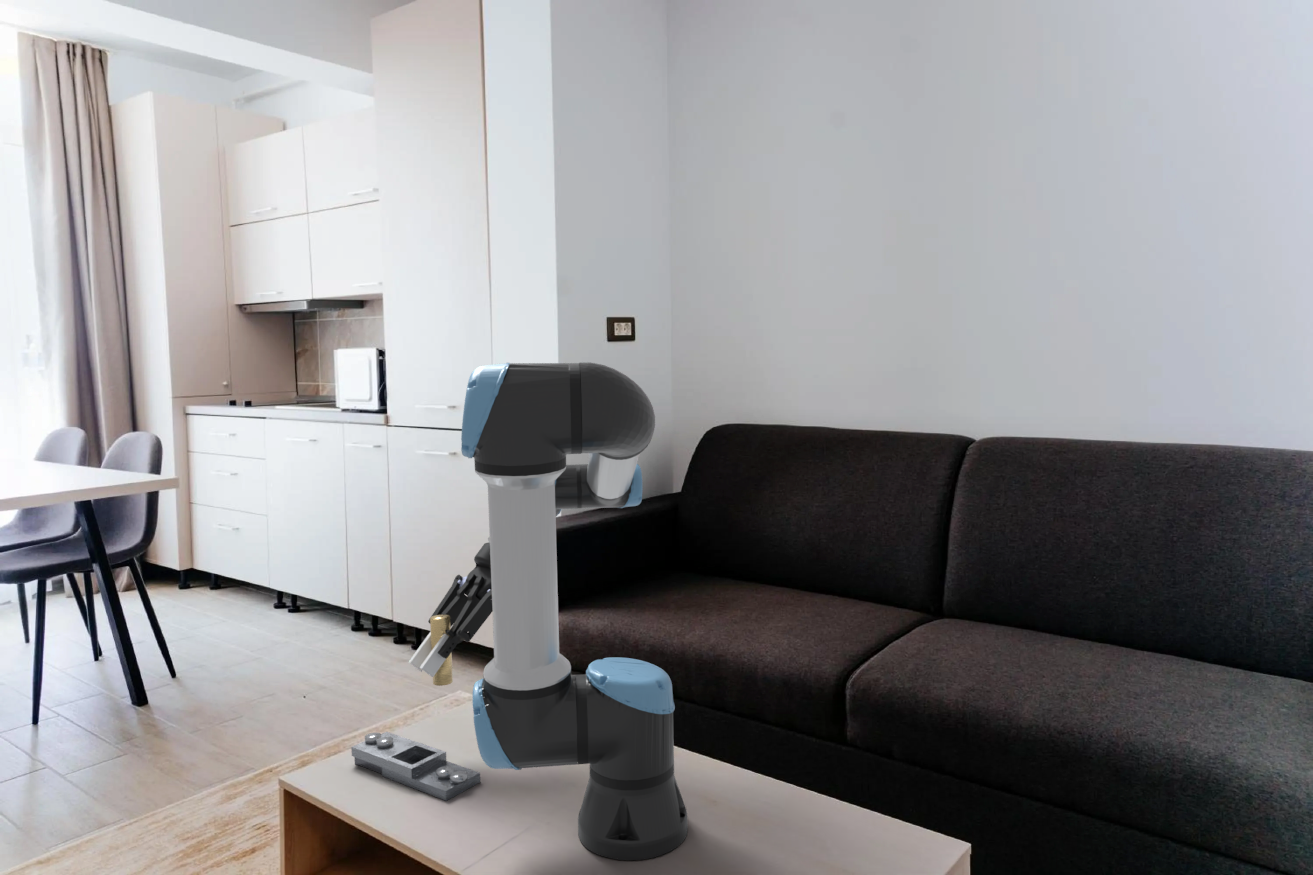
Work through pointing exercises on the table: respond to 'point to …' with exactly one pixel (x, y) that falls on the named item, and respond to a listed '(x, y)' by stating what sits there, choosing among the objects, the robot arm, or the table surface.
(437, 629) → the pin
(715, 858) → the table surface
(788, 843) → the table surface
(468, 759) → the table surface
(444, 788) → the riveted socket plate
